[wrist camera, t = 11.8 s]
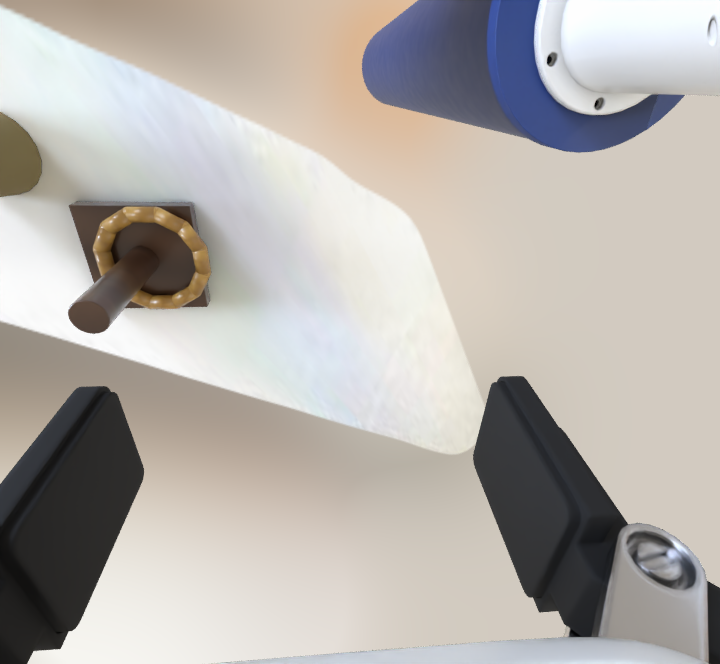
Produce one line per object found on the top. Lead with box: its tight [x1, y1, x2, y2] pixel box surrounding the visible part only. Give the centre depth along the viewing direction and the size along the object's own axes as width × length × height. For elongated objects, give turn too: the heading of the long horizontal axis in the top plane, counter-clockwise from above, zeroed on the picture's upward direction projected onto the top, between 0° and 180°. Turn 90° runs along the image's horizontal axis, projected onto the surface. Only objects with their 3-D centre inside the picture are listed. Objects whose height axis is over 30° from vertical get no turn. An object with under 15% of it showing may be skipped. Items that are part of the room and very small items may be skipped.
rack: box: [68, 202, 210, 334], centre depth 31 cm, size 9×9×11 cm
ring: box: [93, 207, 211, 309], centre depth 34 cm, size 9×9×1 cm
